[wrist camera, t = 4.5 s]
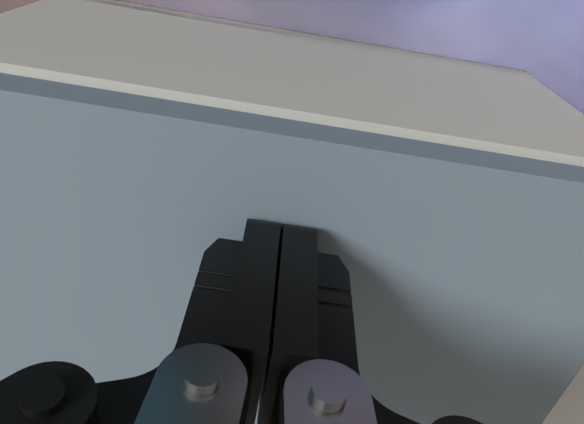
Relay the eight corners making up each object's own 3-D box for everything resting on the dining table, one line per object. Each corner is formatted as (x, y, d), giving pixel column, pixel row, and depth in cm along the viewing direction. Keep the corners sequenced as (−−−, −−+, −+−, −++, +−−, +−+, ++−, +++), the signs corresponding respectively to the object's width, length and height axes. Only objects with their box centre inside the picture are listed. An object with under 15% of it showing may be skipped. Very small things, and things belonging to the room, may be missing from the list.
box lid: (-118, 53, 10) (-150, 66, 9) (672, 181, 11) (696, 201, 10) (-2, 463, 17) (-16, 486, 17) (453, 517, 18) (458, 542, 17)
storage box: (65, -9, 17) (-98, 46, 10) (524, 70, 18) (657, 169, 11) (86, 305, 24) (-1, 460, 17) (413, 350, 25) (452, 514, 18)
